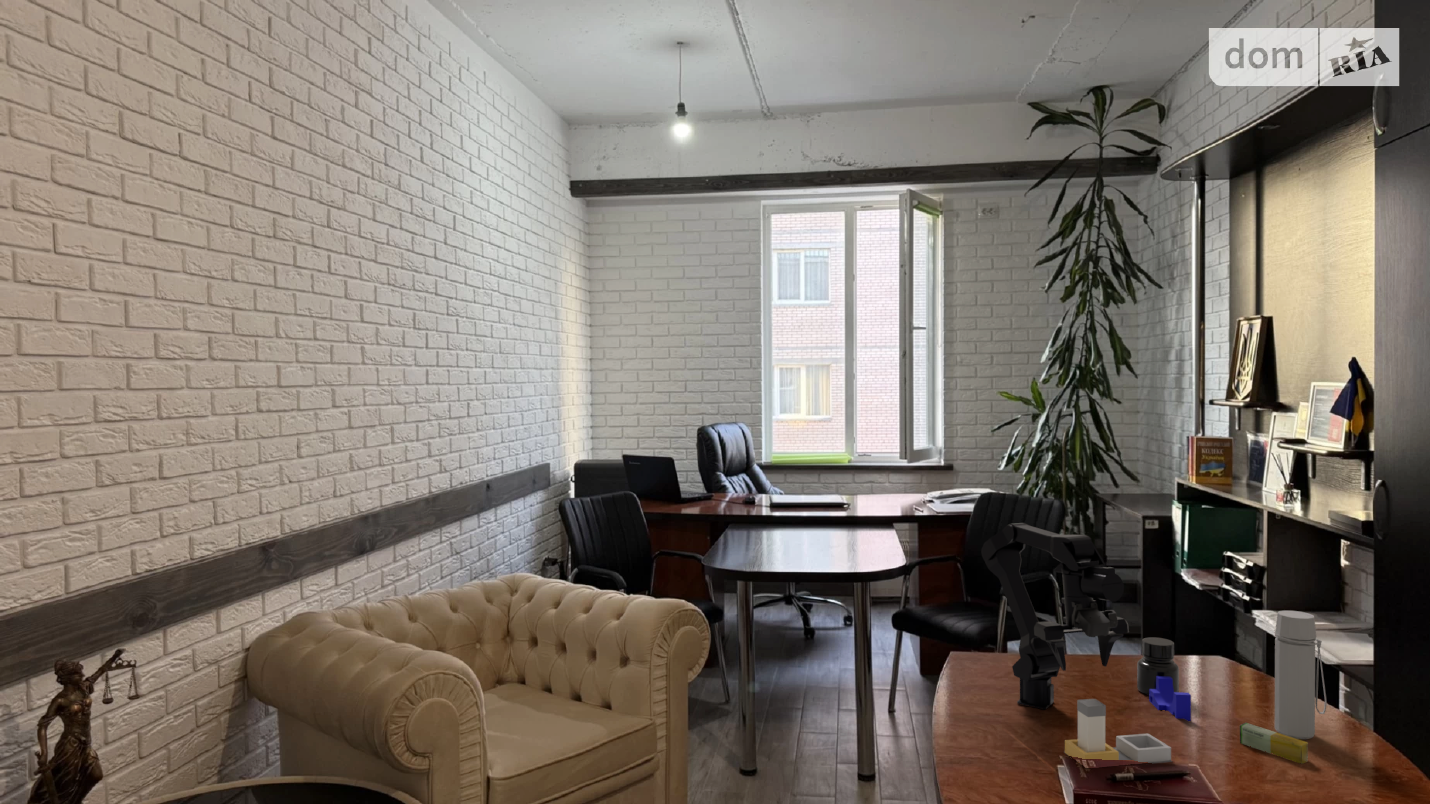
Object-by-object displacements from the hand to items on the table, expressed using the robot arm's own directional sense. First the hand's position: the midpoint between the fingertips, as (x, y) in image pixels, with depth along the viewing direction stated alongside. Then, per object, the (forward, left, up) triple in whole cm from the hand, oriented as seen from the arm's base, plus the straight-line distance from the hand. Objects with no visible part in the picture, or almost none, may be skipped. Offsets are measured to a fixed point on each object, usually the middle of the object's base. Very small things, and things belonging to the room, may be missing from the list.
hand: (1084, 668), depth 193 cm
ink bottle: (+8, +31, -13) cm, 35 cm away
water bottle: (+37, +20, -13) cm, 44 cm away
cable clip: (+13, +20, -13) cm, 27 cm away
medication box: (+34, +7, -13) cm, 37 cm away
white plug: (+6, -18, -12) cm, 23 cm away
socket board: (+10, -14, -12) cm, 21 cm away
